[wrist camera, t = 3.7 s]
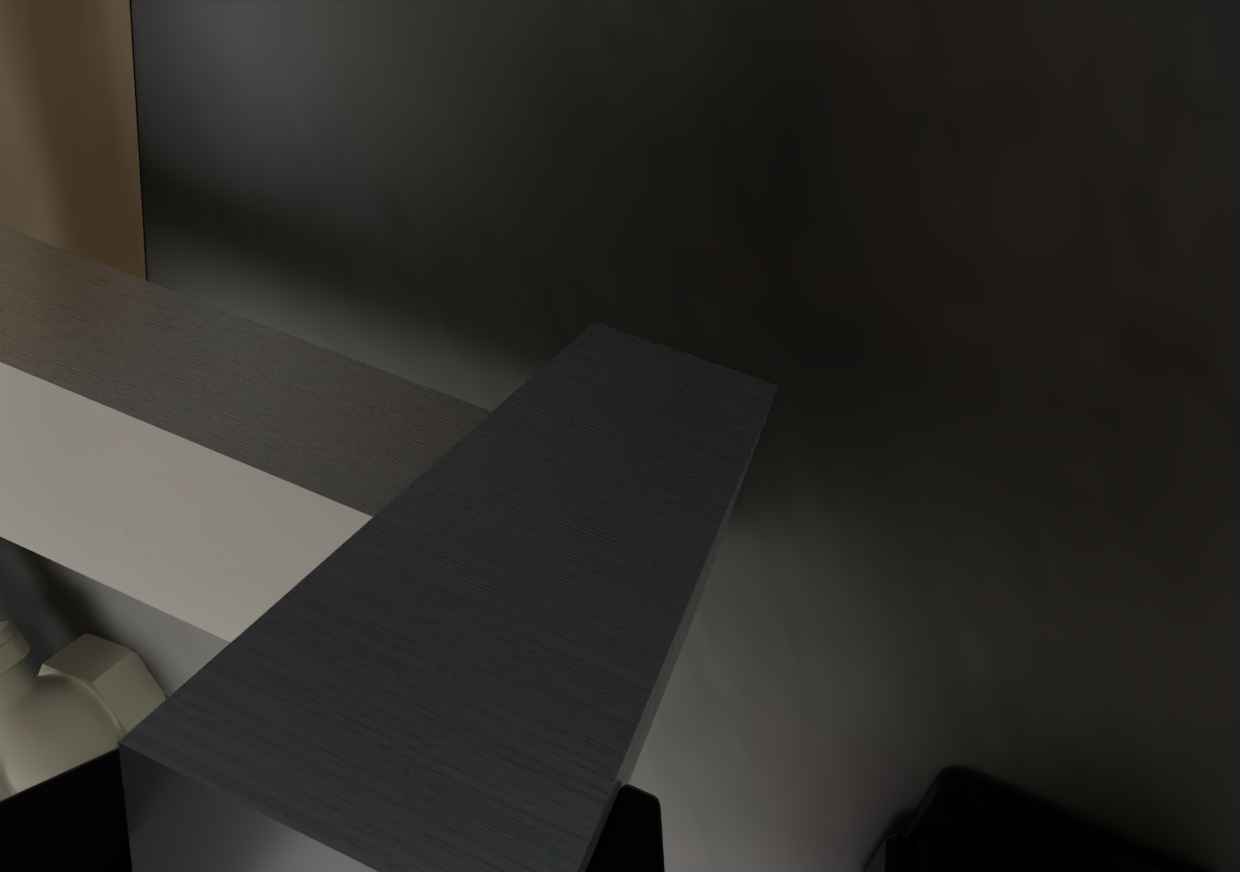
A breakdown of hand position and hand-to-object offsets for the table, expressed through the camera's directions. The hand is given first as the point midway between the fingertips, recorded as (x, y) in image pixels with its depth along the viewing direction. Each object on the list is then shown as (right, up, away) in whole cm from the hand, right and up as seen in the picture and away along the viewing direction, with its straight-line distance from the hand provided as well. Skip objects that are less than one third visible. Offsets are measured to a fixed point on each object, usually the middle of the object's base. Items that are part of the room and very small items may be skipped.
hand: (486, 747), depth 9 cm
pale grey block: (-5, +5, +6) cm, 9 cm away
